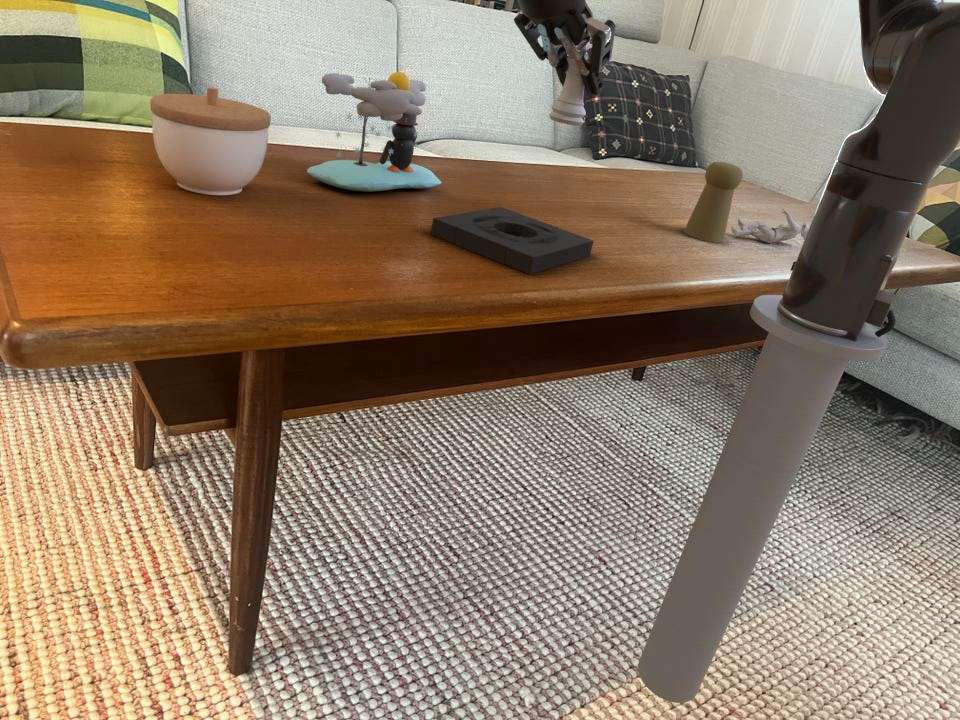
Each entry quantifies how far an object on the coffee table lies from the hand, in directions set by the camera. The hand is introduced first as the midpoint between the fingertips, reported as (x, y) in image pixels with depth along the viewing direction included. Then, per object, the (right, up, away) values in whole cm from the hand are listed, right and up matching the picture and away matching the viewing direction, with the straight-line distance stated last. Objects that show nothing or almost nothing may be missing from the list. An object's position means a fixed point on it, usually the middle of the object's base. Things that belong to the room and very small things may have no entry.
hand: (583, 89), depth 89 cm
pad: (-9, -19, -2) cm, 21 cm away
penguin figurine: (-27, -9, +12) cm, 31 cm away
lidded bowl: (-44, -13, -4) cm, 46 cm away
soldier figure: (+33, -15, +26) cm, 44 cm away
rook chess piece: (-2, -4, 0) cm, 5 cm away
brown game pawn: (+21, -14, +21) cm, 33 cm away
